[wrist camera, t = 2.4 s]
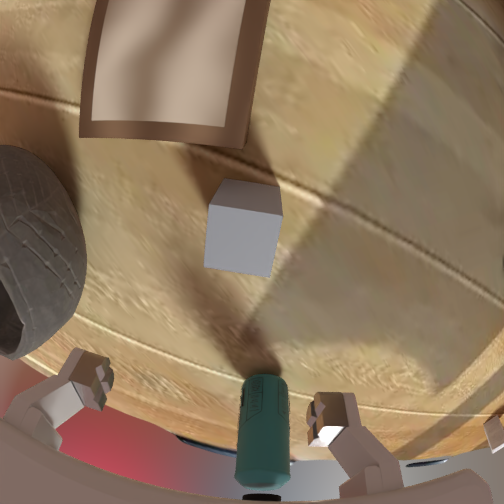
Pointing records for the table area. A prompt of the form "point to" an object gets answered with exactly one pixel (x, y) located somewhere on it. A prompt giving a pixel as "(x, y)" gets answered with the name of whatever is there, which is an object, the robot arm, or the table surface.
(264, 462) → the beverage bottle
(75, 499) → the robot arm
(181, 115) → the base
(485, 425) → the small box
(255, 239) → the block
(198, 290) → the table surface
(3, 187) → the bowl
